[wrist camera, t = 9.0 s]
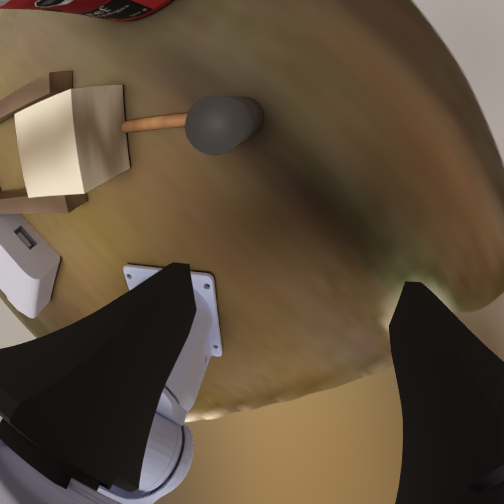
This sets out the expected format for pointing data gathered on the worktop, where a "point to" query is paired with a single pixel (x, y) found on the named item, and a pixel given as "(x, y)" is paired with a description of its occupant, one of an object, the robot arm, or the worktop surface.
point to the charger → (26, 265)
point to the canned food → (91, 7)
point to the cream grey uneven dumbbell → (113, 135)
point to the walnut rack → (9, 107)
